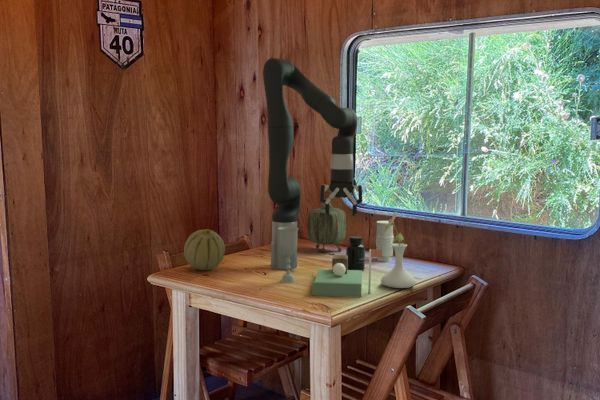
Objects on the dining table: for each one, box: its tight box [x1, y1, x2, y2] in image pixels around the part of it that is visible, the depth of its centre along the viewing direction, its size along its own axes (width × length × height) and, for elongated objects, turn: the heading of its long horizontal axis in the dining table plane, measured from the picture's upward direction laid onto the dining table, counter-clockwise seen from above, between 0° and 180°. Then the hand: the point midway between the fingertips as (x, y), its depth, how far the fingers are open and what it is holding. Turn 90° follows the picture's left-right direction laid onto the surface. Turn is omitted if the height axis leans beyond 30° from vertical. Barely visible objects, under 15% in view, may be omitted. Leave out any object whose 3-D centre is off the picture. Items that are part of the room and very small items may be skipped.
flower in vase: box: [380, 212, 417, 289], centre depth 196 cm, size 13×11×25 cm
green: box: [311, 268, 363, 298], centre depth 199 cm, size 15×24×4 cm, turn 174°
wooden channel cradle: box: [331, 254, 348, 274], centre depth 208 cm, size 5×6×5 cm
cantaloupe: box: [183, 228, 226, 271], centre depth 218 cm, size 15×15×15 cm
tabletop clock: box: [307, 190, 347, 253], centre depth 252 cm, size 14×9×25 cm, turn 58°
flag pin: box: [367, 248, 382, 294], centre depth 189 cm, size 4×1×14 cm, turn 84°
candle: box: [375, 220, 395, 262], centre depth 237 cm, size 7×7×15 cm
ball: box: [333, 263, 346, 276], centre depth 201 cm, size 4×4×4 cm
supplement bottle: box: [345, 235, 366, 272], centre depth 220 cm, size 7×7×12 cm
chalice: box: [278, 226, 300, 284], centre depth 203 cm, size 7×7×18 cm
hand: (340, 215), depth 206 cm, fingers open, 8 cm apart
